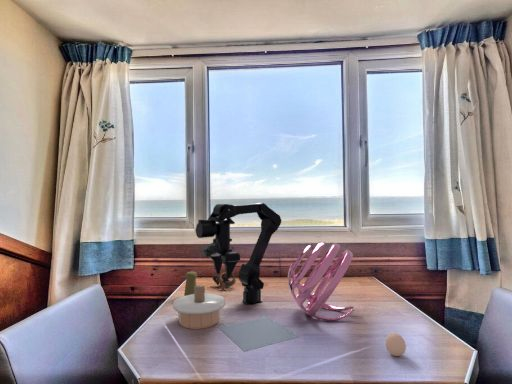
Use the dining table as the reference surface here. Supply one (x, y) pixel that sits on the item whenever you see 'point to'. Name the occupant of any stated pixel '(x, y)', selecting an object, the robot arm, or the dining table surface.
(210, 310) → the ceramic lid
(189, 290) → the green tapered peg
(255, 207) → the robot arm
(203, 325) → the terracotta bowl
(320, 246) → the spiral basket
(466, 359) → the dining table surface
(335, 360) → the dining table surface
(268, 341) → the rubber mat
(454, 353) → the dining table surface
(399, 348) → the egg
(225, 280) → the pottery mug
